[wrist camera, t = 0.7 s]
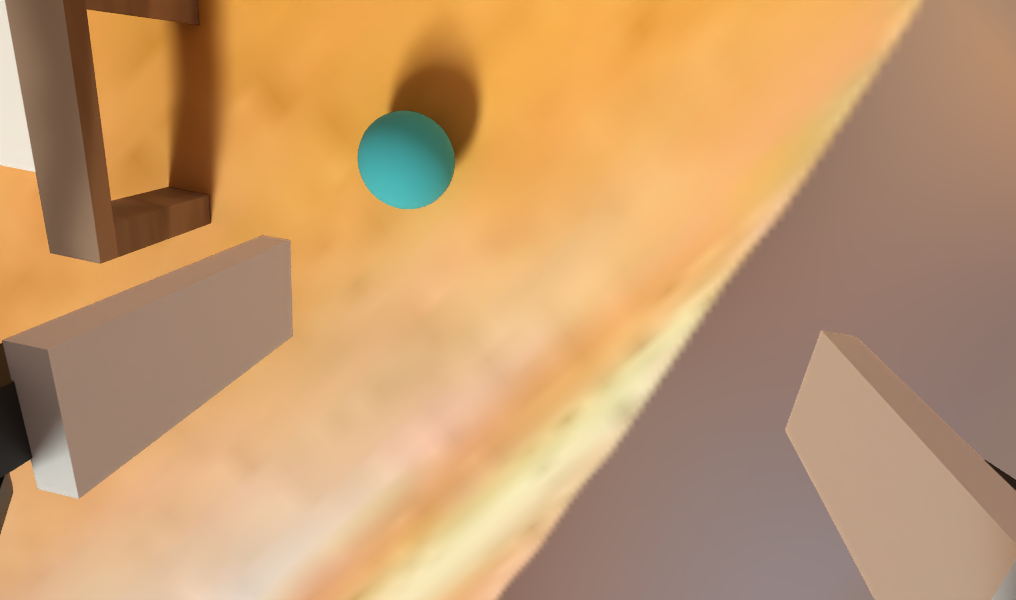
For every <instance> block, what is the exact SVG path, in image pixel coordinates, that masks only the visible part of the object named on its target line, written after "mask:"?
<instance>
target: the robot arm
mask: <svg viewBox="0 0 1016 600" xmlns="http://www.w3.org/2000/svg"><path fill="white" fill-rule="evenodd" d="M292 336H293V325H292V288H291V250H290V240H288V239H282V238H276V237H270V236H264V235H262V236H260V237H257V238H255V239H252V240H250V241H247V242H245V243H242V244H240V245H237V246H235V247H232V248H230V249H227V250H225V251H222V252H220V253H217V254H215V255H212V256H210V257H207V258H205V259H202V260H200V261H198V262H195V263H193V264H190V265H188V266H185V267H183V268H180V269H178V270H175V271H173V272H170V273H168V274H165V275H163V276H160V277H158V278H155V279H153V280H150V281H148V282H145V283H143V284H140V285H138V286H135V287H133V288H130V289H128V290H125V291H123V292H121V293H118V294H116V295H113V296H111V297H108V298H106V299H103V300H101V301H98V302H96V303H93V304H91V305H88V306H86V307H83V308H81V309H78V310H76V311H73V312H71V313H68V314H66V315H63V316H61V317H58V318H56V319H53V320H51V321H49V322H46V323H44V324H41V325H39V326H36V327H34V328H31V329H29V330H26V331H24V332H21V333H19V334H16V335H14V336H11V337H9V338H6V339H4V340H2V342H3V343H1V344H0V534H1V530H2V527H3V524H4V520H5V517H6V514H7V511H8V507H9V504H10V501H11V498H12V494H13V486H12V481H11V477H10V473H9V472H11V471H13V470H14V469H16V468H17V467H19V466H20V465H22V464H24V463H25V462H27V461H28V460H30V459H31V462H32V466H33V471H34V475H35V479H36V483H37V487H38V489H40V490H44V491H49V492H53V493H57V494H61V495H65V496H69V497H74V498H78V499H79V498H81V497H82V496H83V495H85V494H86V493H87V492H88V491H90V490H91V489H92V488H94V487H95V486H96V485H98V484H99V483H100V482H102V481H103V480H104V479H106V478H107V477H108V476H109V475H111V474H112V473H113V472H115V471H116V470H117V469H119V468H120V467H121V466H123V465H124V464H125V463H127V462H128V461H129V460H131V459H132V458H133V457H134V456H136V455H137V454H138V453H140V452H141V451H142V450H144V449H145V448H146V447H148V446H149V445H150V444H152V443H153V442H154V441H155V440H157V439H158V438H159V437H161V436H162V435H163V434H165V433H166V432H167V431H169V430H170V429H171V428H173V427H174V426H175V425H177V424H178V423H179V422H180V421H182V420H183V419H184V418H186V417H187V416H188V415H190V414H191V413H192V412H194V411H195V410H196V409H198V408H199V407H200V406H201V405H203V404H204V403H205V402H207V401H208V400H209V399H211V398H212V397H213V396H215V395H216V394H217V393H219V392H220V391H221V390H223V389H224V388H225V387H226V386H228V385H229V384H230V383H232V382H233V381H234V380H236V379H237V378H238V377H240V376H241V375H242V374H244V373H245V372H246V371H247V370H249V369H250V368H251V367H253V366H254V365H255V364H257V363H258V362H259V361H261V360H262V359H263V358H265V357H266V356H267V355H269V354H270V353H271V352H272V351H274V350H275V349H276V348H278V347H279V346H280V345H282V344H283V343H284V342H286V341H287V340H288V339H290V338H291V337H292ZM785 431H786V433H787V435H788V437H789V439H790V441H791V443H792V445H793V446H794V448H795V450H796V452H797V454H798V456H799V458H800V460H801V462H802V464H803V465H804V467H805V469H806V471H807V473H808V475H809V477H810V479H811V480H812V482H813V484H814V486H815V488H816V490H817V492H818V494H819V496H820V497H821V499H822V501H823V503H824V505H825V507H826V509H827V511H828V513H829V515H830V516H831V518H832V520H833V522H834V524H835V526H836V528H837V529H838V531H839V533H840V535H841V537H842V539H843V541H844V543H845V545H846V547H847V548H848V550H849V552H850V554H851V556H852V558H853V560H854V562H855V563H856V566H857V567H858V569H859V571H860V573H861V575H862V577H863V579H864V581H865V582H866V584H867V586H868V588H869V590H870V592H871V594H872V596H873V598H874V599H875V600H1016V480H1015V479H1014V478H1012V477H1011V476H1009V475H1008V474H1006V473H1005V472H1003V471H1001V470H1000V469H998V468H997V467H995V466H994V465H992V464H991V463H989V462H988V461H986V460H983V459H982V458H981V457H980V456H979V455H978V454H977V453H976V452H975V451H974V450H973V449H972V448H971V447H970V446H969V445H968V444H967V443H966V442H965V441H964V440H963V439H962V438H961V437H960V436H958V434H957V433H956V432H954V431H953V430H952V429H951V428H950V427H949V426H948V425H947V424H946V423H945V422H944V421H943V420H942V419H941V418H940V417H939V416H938V415H937V414H936V413H935V412H934V411H933V410H932V409H931V408H930V407H928V405H927V404H925V403H924V402H923V401H922V400H921V399H920V398H919V397H918V396H917V395H916V394H915V393H914V392H913V391H912V390H911V389H910V388H909V387H908V386H907V385H906V384H905V383H904V382H903V381H902V380H901V379H900V378H899V377H897V375H896V374H895V373H893V372H892V371H891V370H890V369H889V368H888V367H887V366H886V365H885V364H884V363H883V362H882V361H881V360H880V359H879V358H878V357H877V356H876V355H875V354H874V353H873V352H871V350H870V349H868V347H867V346H866V345H865V344H864V343H862V342H861V341H860V340H859V339H858V338H857V337H856V336H851V335H845V334H840V333H834V332H828V331H823V330H822V331H821V332H820V335H819V337H818V340H817V343H816V346H815V349H814V351H813V354H812V357H811V360H810V362H809V365H808V368H807V371H806V373H805V376H804V379H803V382H802V384H801V387H800V390H799V393H798V395H797V398H796V401H795V404H794V407H793V409H792V412H791V415H790V418H789V421H788V423H787V426H786V429H785Z"/></svg>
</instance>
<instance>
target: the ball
mask: <svg viewBox="0 0 1016 600" xmlns="http://www.w3.org/2000/svg"><path fill="white" fill-rule="evenodd" d="M358 167H359V171H360V174H361V177H362V179H363V181H364V183H365V185H366V186H367V188H368V189H369V190H370V192H371V193H372V194H373V195H374V196H375V197H376V198H378V199H379V200H381V201H382V202H384V203H386V204H388V205H390V206H393V207H396V208H400V209H416V208H421V207H424V206H426V205H429V204H431V203H433V202H434V201H436V200H437V199H438V198H439V197H440V196H441V195H442V194H443V193H444V192H445V191H446V189H447V188H448V186H449V184H450V182H451V180H452V177H453V173H454V168H455V156H454V151H453V147H452V144H451V142H450V139H449V137H448V136H447V134H446V133H445V131H444V130H443V129H442V128H441V127H440V126H439V125H438V124H437V123H436V122H435V121H434V120H432V119H431V118H429V117H427V116H425V115H423V114H420V113H417V112H413V111H395V112H391V113H388V114H385V115H383V116H381V117H380V118H378V119H377V120H375V121H374V122H373V123H372V124H371V125H370V126H369V127H368V129H367V130H366V131H365V133H364V135H363V137H362V139H361V142H360V145H359V149H358Z"/></svg>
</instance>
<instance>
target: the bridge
mask: <svg viewBox="0 0 1016 600" xmlns="http://www.w3.org/2000/svg"><path fill="white" fill-rule="evenodd" d="M5 4H6V10H7V15H8V21H9V27H10V32H11V38H12V43H13V49H14V54H15V60H16V66H17V71H18V77H19V82H20V88H21V93H22V99H23V105H24V110H25V116H26V121H27V127H28V132H29V138H30V144H31V149H32V155H33V160H34V166H35V171H36V177H37V183H38V188H39V194H40V199H41V205H42V210H43V216H44V222H45V227H46V233H47V238H48V244H49V249H50V253H53V254H57V255H62V256H67V257H72V258H76V259H81V260H86V261H90V262H95V263H100V264H101V263H104V262H106V261H109V260H112V259H115V258H117V257H120V256H123V255H125V254H128V253H131V252H134V251H136V250H139V249H142V248H145V247H147V246H150V245H153V244H155V243H158V242H161V241H164V240H166V239H169V238H172V237H175V236H177V235H180V234H183V233H186V232H188V231H191V230H194V229H196V228H199V227H202V226H205V225H207V224H210V223H211V221H210V204H209V195H206V194H201V193H196V192H191V191H186V190H181V189H176V188H171V187H166V188H162V189H158V190H154V191H150V192H146V193H142V194H138V195H134V196H129V197H125V198H121V199H117V200H113V201H111V197H110V189H109V181H108V174H107V166H106V158H105V150H104V143H103V135H102V127H101V119H100V112H99V104H98V96H97V88H96V81H95V73H94V65H93V57H92V50H91V42H90V34H89V26H88V19H87V11H86V9H88V10H95V11H103V12H110V13H117V14H124V15H131V16H138V17H145V18H152V19H159V20H166V21H173V22H180V23H188V24H195V25H199V15H198V0H5Z"/></svg>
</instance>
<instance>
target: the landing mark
mask: <svg viewBox="0 0 1016 600" xmlns="http://www.w3.org/2000/svg"><path fill="white" fill-rule="evenodd" d="M0 165H3V166H8V167H13V168H18V169H23V170H28V171H33V172H36V171H35V166H34V160H33V155H32V149H31V144H30V138H29V132H28V127H27V121H26V116H25V110H24V105H23V99H22V93H21V88H20V82H19V77H18V71H17V66H16V60H15V54H14V49H13V43H12V38H11V32H10V27H9V21H8V15H7V10H6V4H5V0H0Z"/></svg>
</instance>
